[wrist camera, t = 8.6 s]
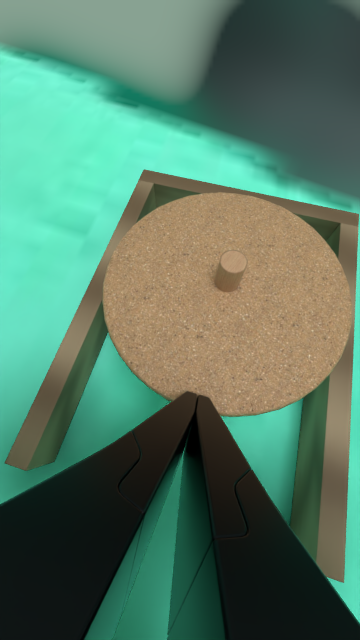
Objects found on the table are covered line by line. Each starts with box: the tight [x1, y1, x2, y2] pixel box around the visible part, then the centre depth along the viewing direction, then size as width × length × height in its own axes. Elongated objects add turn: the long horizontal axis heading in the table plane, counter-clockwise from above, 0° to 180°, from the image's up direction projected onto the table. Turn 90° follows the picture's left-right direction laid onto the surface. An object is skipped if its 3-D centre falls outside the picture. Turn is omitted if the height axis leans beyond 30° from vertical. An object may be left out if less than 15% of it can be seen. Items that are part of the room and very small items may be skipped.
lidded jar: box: [102, 192, 352, 417], centre depth 14 cm, size 11×11×9 cm
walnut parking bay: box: [5, 170, 359, 583], centre depth 17 cm, size 21×16×3 cm
